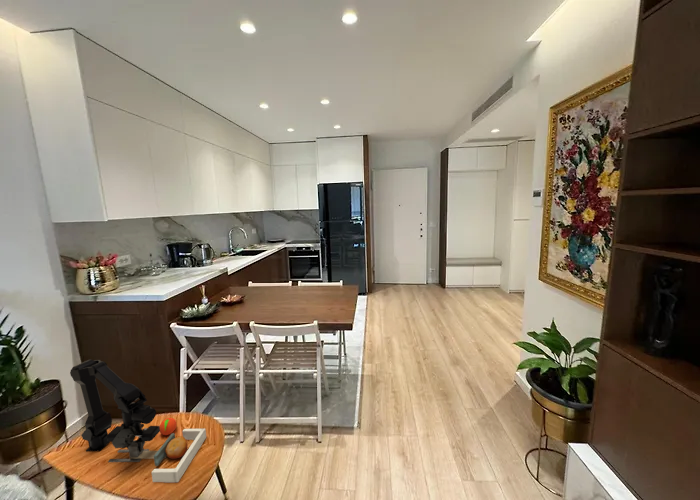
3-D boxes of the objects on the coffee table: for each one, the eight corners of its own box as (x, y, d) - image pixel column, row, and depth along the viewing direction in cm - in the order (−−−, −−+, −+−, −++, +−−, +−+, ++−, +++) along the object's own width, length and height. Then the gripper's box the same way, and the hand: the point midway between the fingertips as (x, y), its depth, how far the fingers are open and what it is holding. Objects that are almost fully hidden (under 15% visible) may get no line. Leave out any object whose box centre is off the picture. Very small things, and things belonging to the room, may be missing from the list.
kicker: (121, 468, 118) (119, 455, 117) (142, 444, 130) (140, 432, 129) (158, 468, 118) (156, 454, 117) (175, 444, 129) (174, 432, 129)
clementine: (175, 437, 133) (173, 424, 132) (157, 442, 131) (155, 428, 130) (178, 425, 141) (177, 412, 140) (162, 429, 138) (160, 416, 137)
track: (108, 462, 121) (108, 461, 121) (119, 451, 127) (119, 449, 126) (139, 462, 121) (139, 460, 121) (149, 450, 126) (148, 449, 126)
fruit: (193, 440, 130) (187, 433, 125) (187, 461, 124) (180, 455, 119) (174, 441, 129) (168, 434, 124) (167, 462, 123) (160, 456, 118)
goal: (152, 482, 112) (151, 472, 111) (185, 437, 133) (184, 428, 133) (178, 482, 112) (176, 472, 111) (206, 437, 133) (205, 428, 133)
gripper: (92, 433, 113) (98, 468, 115) (139, 432, 113) (144, 467, 115) (115, 413, 124) (120, 445, 126) (158, 412, 124) (162, 445, 126)
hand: (136, 451), depth 123 cm, fingers closed on kicker, 3 cm apart
